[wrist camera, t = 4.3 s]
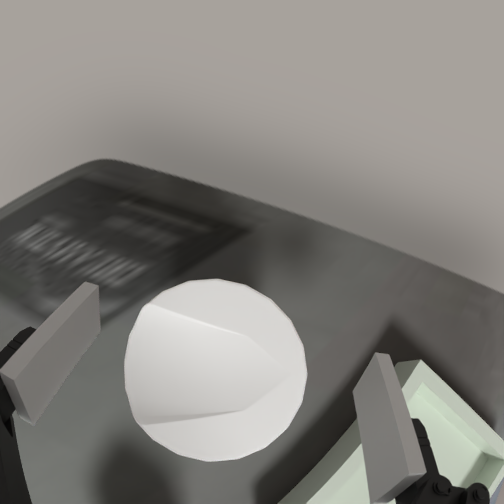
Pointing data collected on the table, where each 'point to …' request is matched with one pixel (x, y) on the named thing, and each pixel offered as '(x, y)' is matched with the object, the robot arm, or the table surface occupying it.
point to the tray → (439, 434)
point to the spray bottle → (214, 370)
